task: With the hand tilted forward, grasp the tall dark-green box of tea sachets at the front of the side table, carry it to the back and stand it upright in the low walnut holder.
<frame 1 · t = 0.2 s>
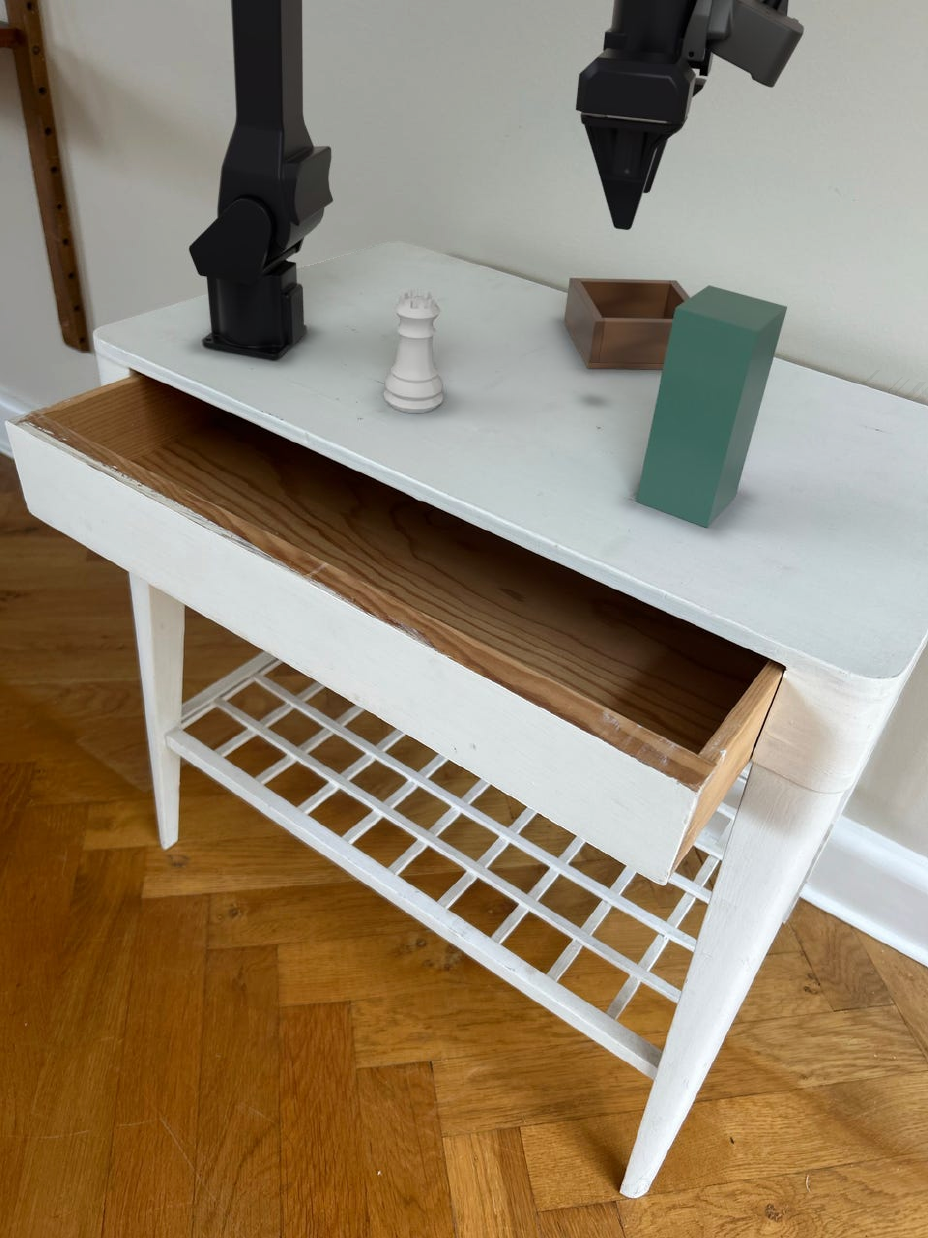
hand: (632, 209, 68), 14 cm above the table, tool pointing down, fingers open, 9 cm apart
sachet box: (686, 498, 66), on the table
walnut holder: (629, 345, 86), on the table
rook chess piece: (413, 403, 75), on the table
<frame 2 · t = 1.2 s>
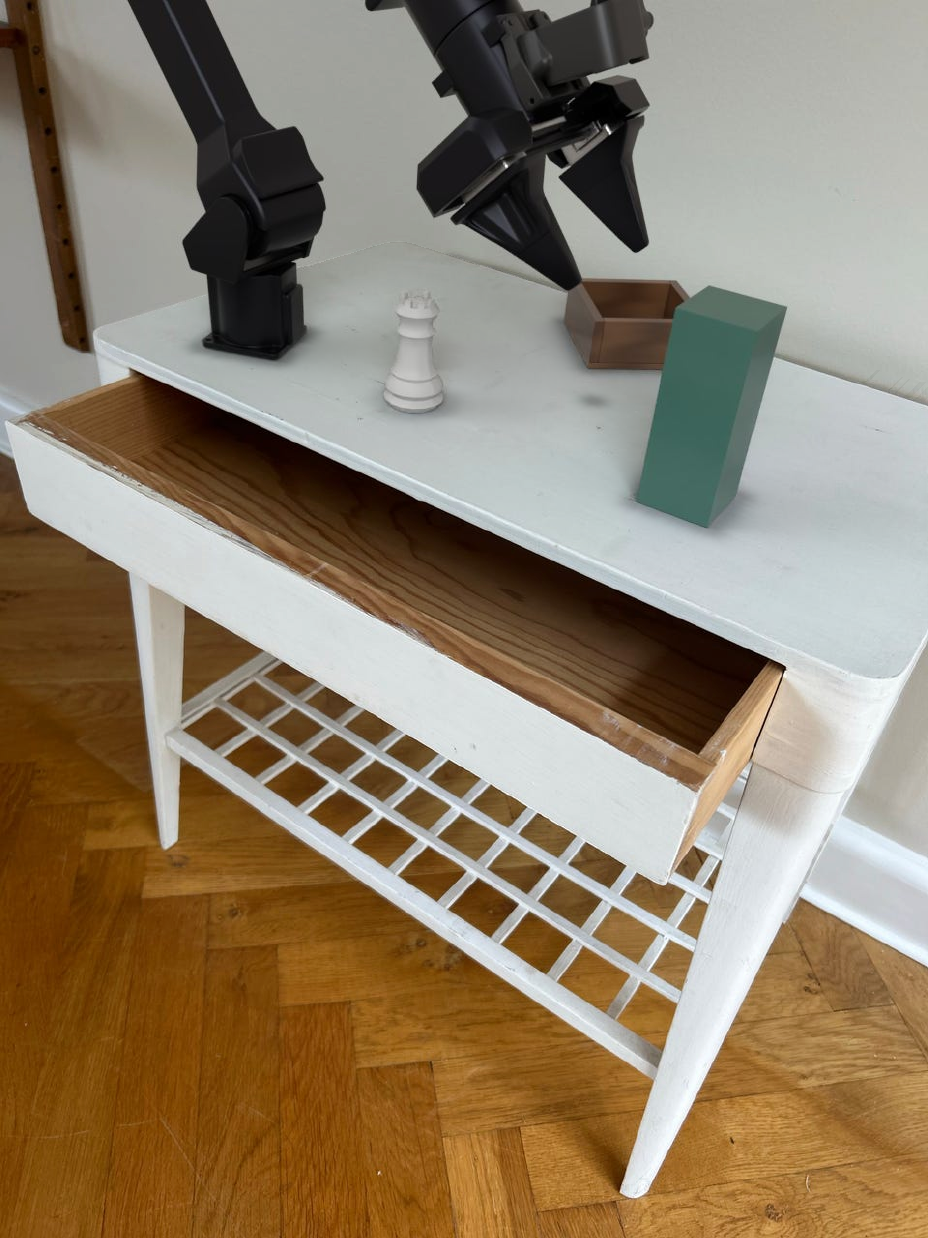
hand: (610, 266, 62), 13 cm above the table, tool tilted 45°, fingers open, 9 cm apart
nothing on the table moved.
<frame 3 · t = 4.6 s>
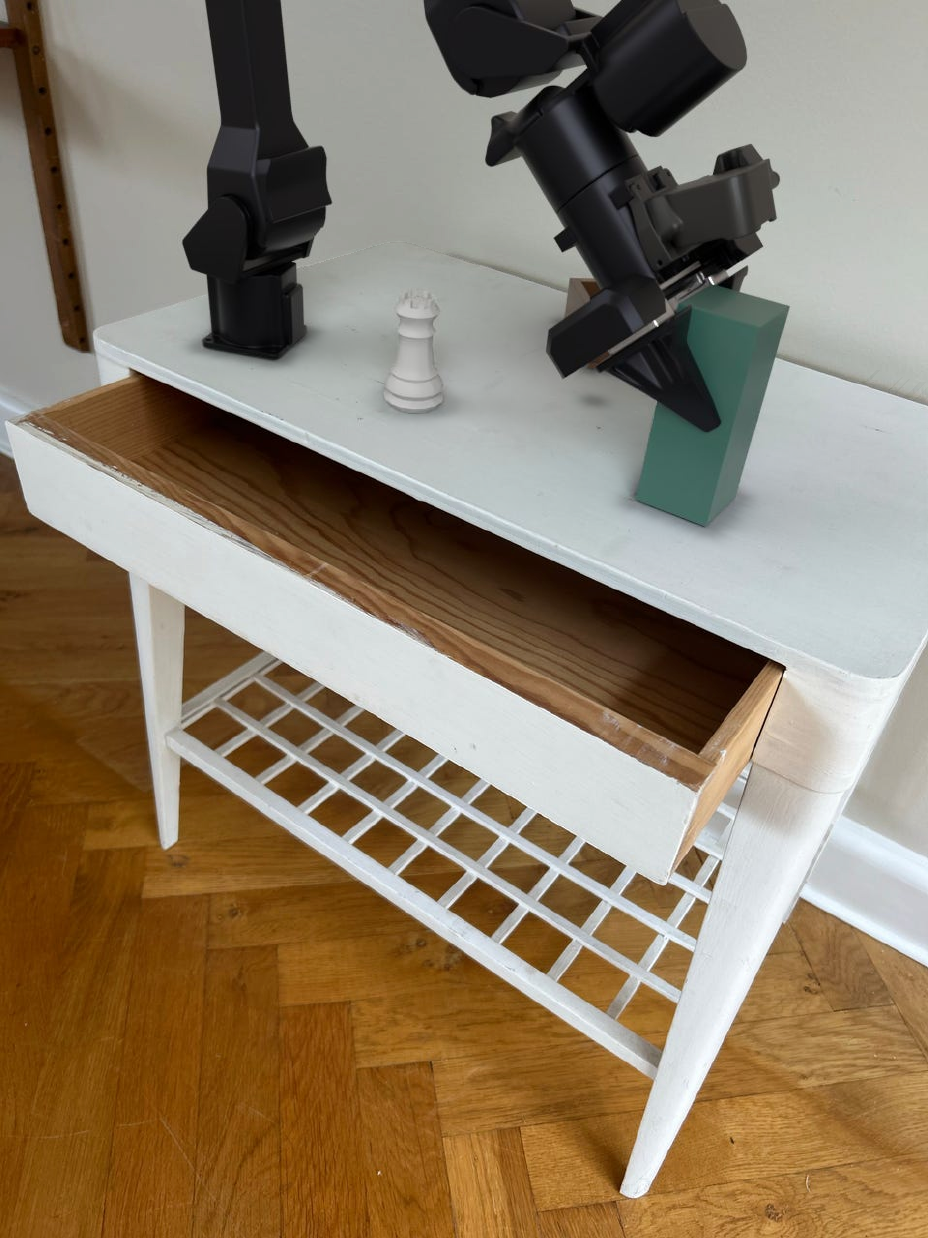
hand: (730, 413, 62), 7 cm above the table, tool tilted 45°, fingers closed on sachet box, 5 cm apart
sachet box: (685, 498, 66), on the table, touching gripper
everything else where it was.
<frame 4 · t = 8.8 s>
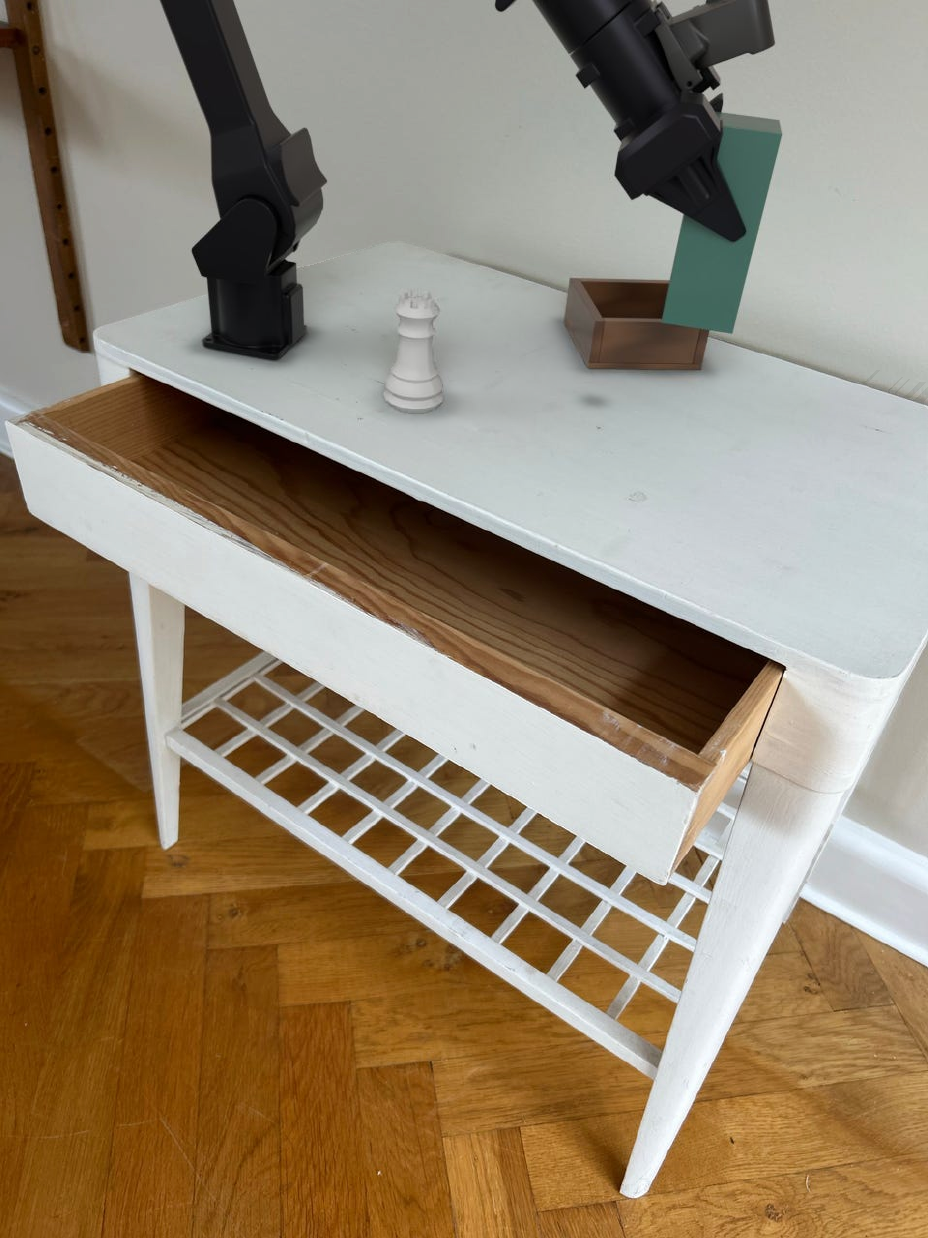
hand: (739, 225, 69), 14 cm above the table, tool tilted 45°, fingers closed on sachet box, 5 cm apart
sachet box: (697, 316, 73), point 7 cm above the table, touching gripper
everything else where it was.
when the fingers open (7 cm above the table, at t = 13.1 s): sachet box stays where it is, resting on walnut holder.
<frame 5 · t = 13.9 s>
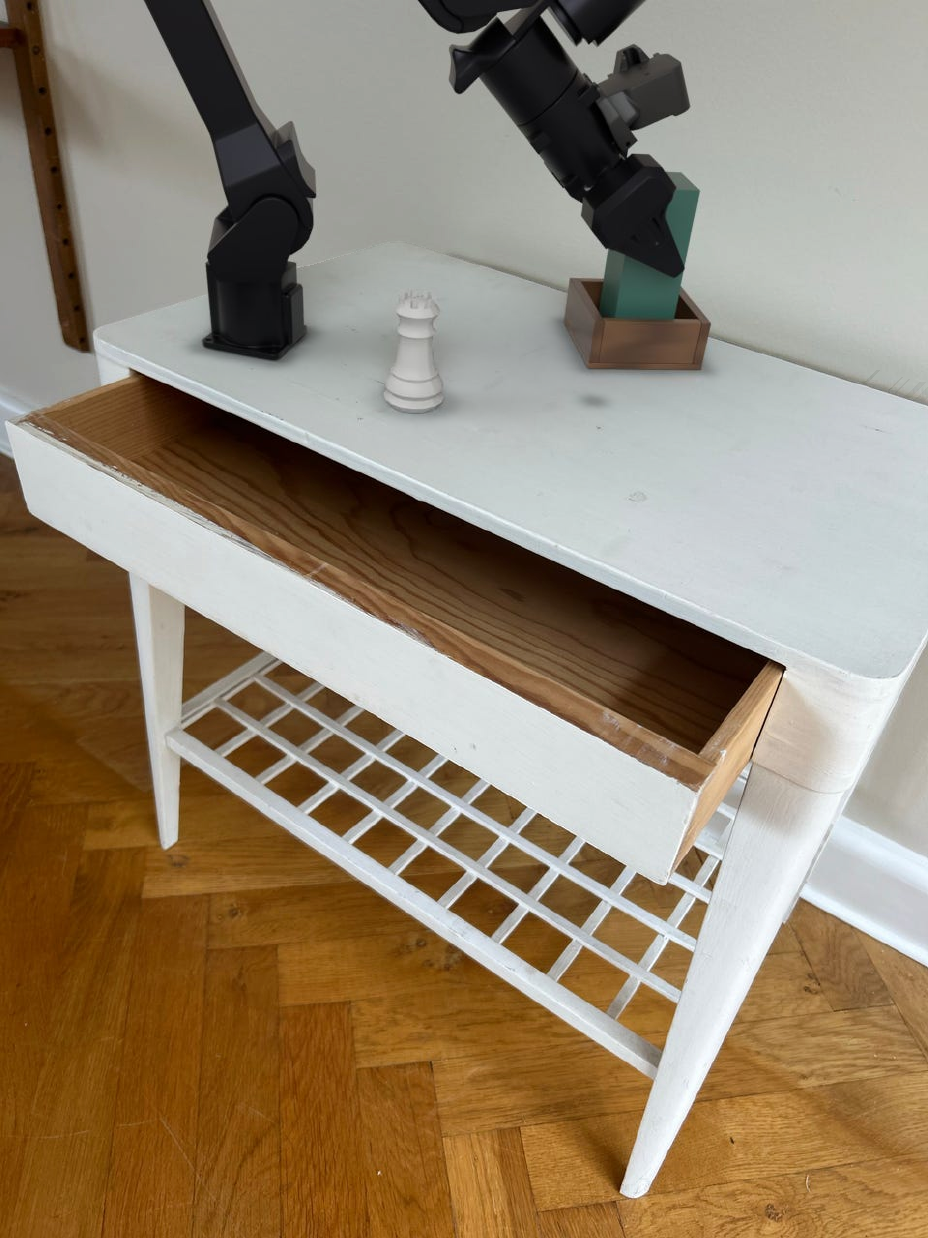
hand: (662, 252, 81), 8 cm above the table, tool tilted 45°, fingers open, 9 cm apart
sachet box: (630, 340, 86), resting on walnut holder
everything else where it was.
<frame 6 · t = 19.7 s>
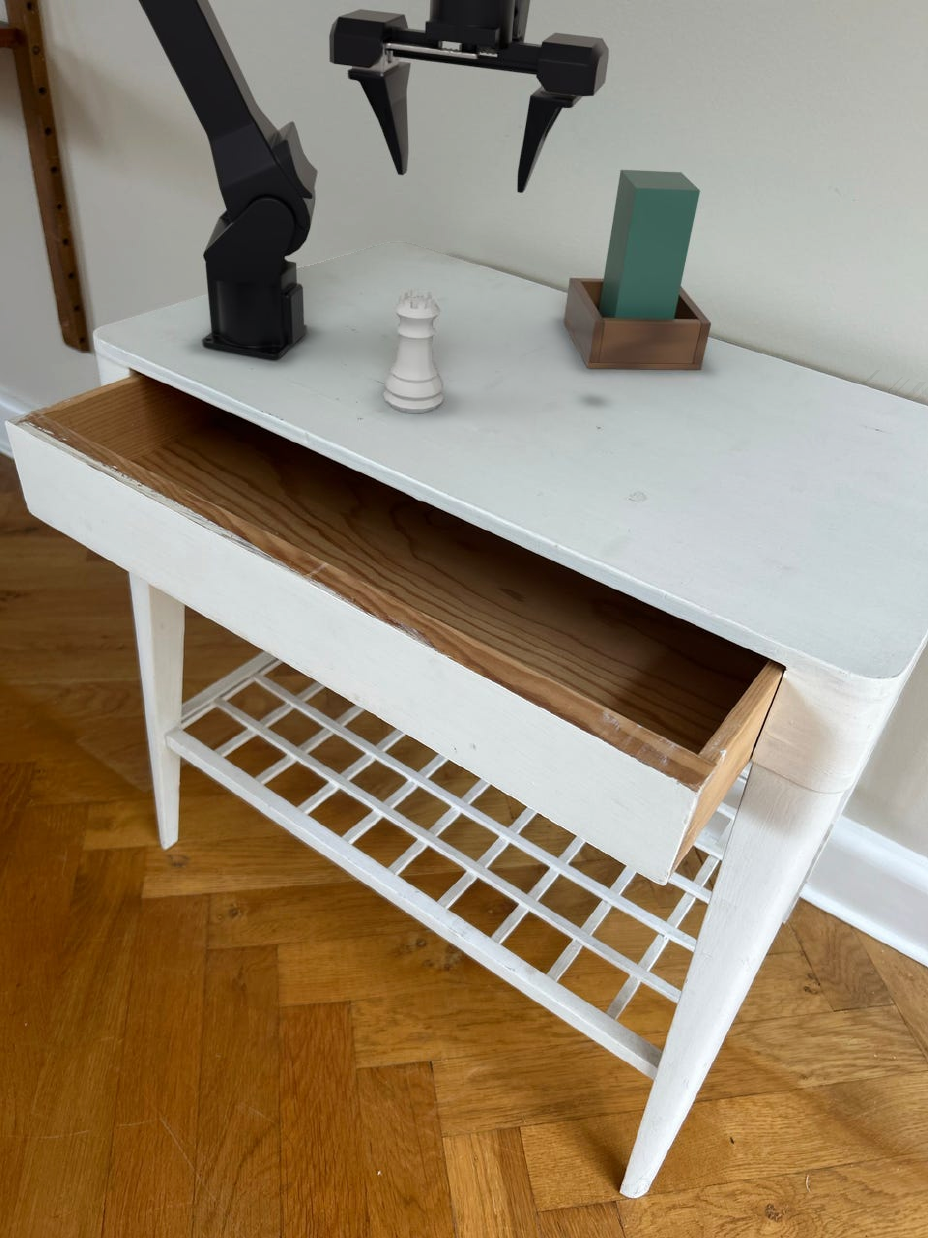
hand: (461, 182, 75), 13 cm above the table, tool pointing down, fingers open, 9 cm apart
nothing on the table moved.
at the end: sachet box inside the target area in the walnut holder (0.2 cm from its centre), point 0.5 cm above the walnut holder's base; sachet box tilted 0°; the gripper is holding nothing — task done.
